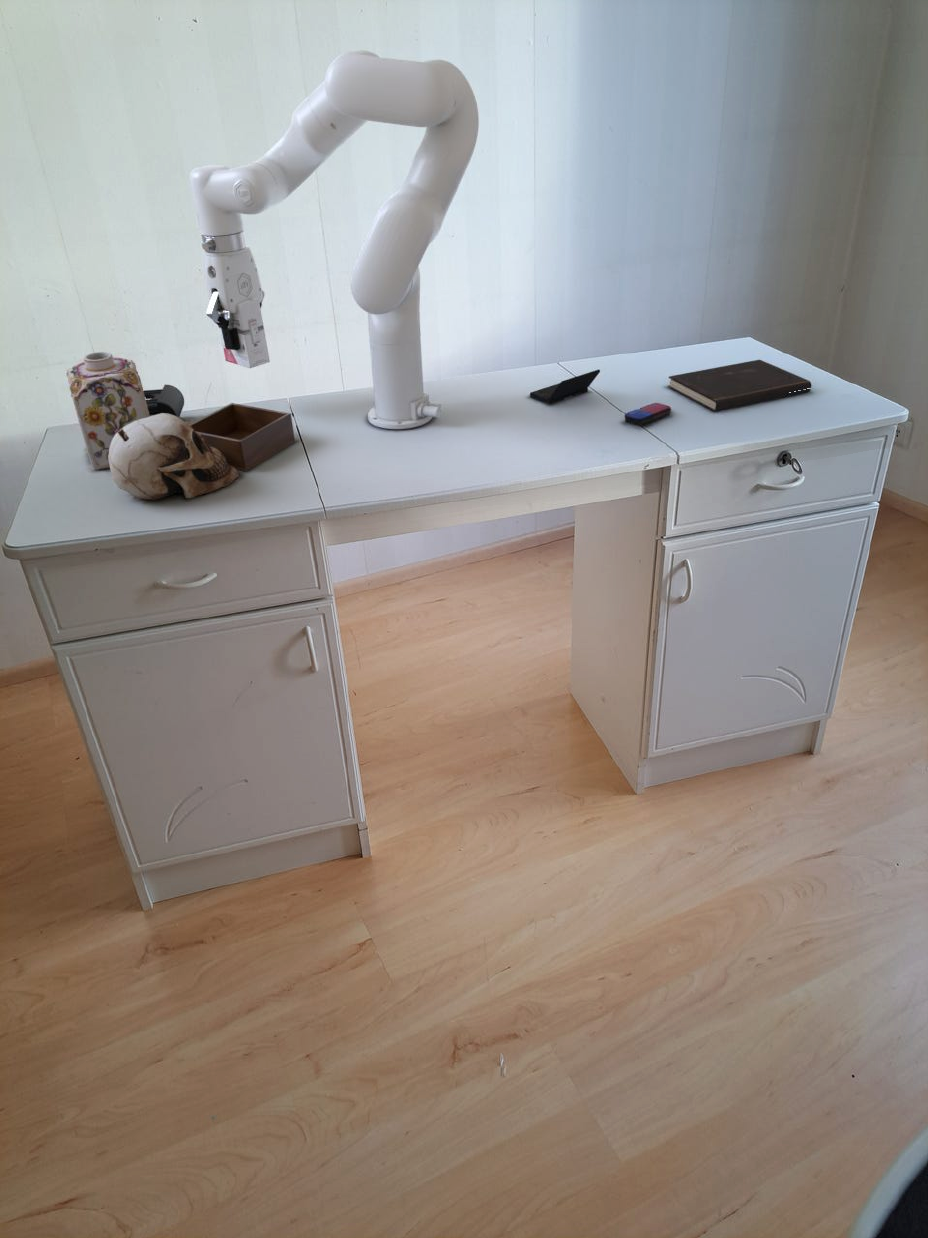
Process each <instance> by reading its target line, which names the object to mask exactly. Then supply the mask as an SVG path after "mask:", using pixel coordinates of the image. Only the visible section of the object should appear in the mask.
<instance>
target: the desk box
mask: <svg viewBox="0 0 928 1238" xmlns="http://www.w3.org/2000/svg"><path fill="white" fill-rule="evenodd" d="M189 424H190V425H191V427H192V428H193V429H194V430H195V432H196V433H200V434H201V438H204V439H205V441H206V443H207V444H208V445H209V446H210V447H214V448H216V449H218V450H219V451H220V452H221V453H222V454H223V456H224V457H225V459H226V462H227V464H228V465H230V466H232V467H234V468H235V469H236V470H237V471H242V472H248V471H250V470H251V469H253V468H254V467H256V466H258V465H260V464H261V463H262V462H264V461H266V460H268V459H269V458H271V457H273V456H274V455H276V454H278V453H279V452H281V451H282V450H285V448H287V447H289V446H290V445H292V444H294V443H295V442H296V439H295V431H294V425H293V418H292V413H291V412H285V411H280V410H275V409H274V410H273V409H268V408H263V407H256V406H251V405H245V404H240V403H234V402H231V403H229V404H227V405H225V406H223V407H221V408H219V409H217V410H215V411H213V412H211V413H209V414H208V415H206V416H204V417H202V418H200V419H198V420H196V421H194V422H192V423H189Z"/></svg>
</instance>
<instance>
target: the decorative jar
mask: <svg viewBox="0 0 928 1238" xmlns="http://www.w3.org/2000/svg"><path fill="white" fill-rule="evenodd" d="M66 378H67V379H68V380H67V381H68V384H69V385H68V386H69V391H70V397H71V398H72V399H71V400H72V402H73V405H74V410H75V413H76V417H77V419H78V423H79V426H80V431H81V434H82V437H83V441H84V445H85V448H86V452H87V454H88V458H89V461H90V465H91V468H92V470H94V471H100V470H105V469H110V464H109V460H108V455H109V448H110V444H111V442H112V439H113V438H114V436H115V434H116V433H117V432H118V431H119V430H121V429H122V428H123V427H125V426H126V425H128V424H130V423H132V422H134V421H136V420H139V419H143V418H147V417H150V415H149V412H148V407H147V403H146V400H147V399H146V398H145V396H144V392H143V391H144V389H143V388H144V387H143V385H142V380H141V377H140V375H139V372H138V370H137V365H136V363H135V362H134V361H133V360H132V359H128V358H123V357H118V356H117V357H114V355H113V354H112V353H111V352H107V351H96V352H91V353H88V354H86V355H84V356H83V361H82V362H80V363H78V364H76V365H73V366H72V367H69V368H68V369H67V370H66Z"/></svg>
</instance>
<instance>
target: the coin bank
mask: <svg viewBox="0 0 928 1238" xmlns="http://www.w3.org/2000/svg"><path fill="white" fill-rule="evenodd" d="M190 424H191V423H189V422H187V421H184V420H183V419H181V418H180V417H176V416H174V415H171V414H168V413H161V414H157V415H153V416H150V417H147V418H143V419H139V420H136V421H134V422H132V423H130V424H128V425H126V426H125V427H123V428H122V429H121V430H119V431H118V432H117V433H116V434H115V436H114V438H113V439H112V442H111V444H110V448H109V455H108V460H109V464H110V468H109V469H110V474H111V478H112V480H113V483H114V484H115V485H116V487H117V488H118V489H120V490H123V491H125V492H127V493H128V494H129V495H131V496H132V497H133V498H134V499H141V500H146V501H147V500H151V501H157V500H159V499H164V498H165V497H169V496H173V495H175V494H176V493H177V494H178V493H183V494H184V497H185V498H186V499H194V498H196V497H197V496H202V495H206V494H211V493H212V492H214V491H218V490H219V489H221V488H224V487H228V486H229V485H230V484H231V483H232V482H234V481H235V479H237V478H239V477H240V473H239V470H237V469H235V468H234V467H232V466H230V465H228V464H227V462H226V459H225V457H224V456H223V454H222V453H221V452H220V451H219V450H218V449H216V448H214V447H210V446H209V445H208V444H207V443H206V441H205V439H204V438H201V434H200V433H196V432H195V430H194V429H193V428H192V427H191V425H190Z"/></svg>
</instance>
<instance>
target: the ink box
mask: <svg viewBox="0 0 928 1238" xmlns="http://www.w3.org/2000/svg"><path fill="white" fill-rule="evenodd" d="M224 310H225V309H224ZM233 314H234V328H236V329H237V333H238V338H239V343H240V349H239V350H230V349H226V348H225V344H224V339H223V334H222V329H221V328H219V327H218V328H219V333H220V339H221V344H222V349H223V354H224V360H225V361H226V362H227V363H231V364H235V365H238V366H241V367H244V368H248V369H254V368H256V367H259V366H262V365H265V364H267V363H270V362H271V360H270V353H269V349H268V343H267V337H266V332H265V326H264V322H263V315H262V308H261V309H260V303H259V300H258V299H257V298H251V299H249V300H247V301H245V302H243V303H241V304H239V305H237V313H233ZM227 318H228V314H225V319H226V320H227Z"/></svg>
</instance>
